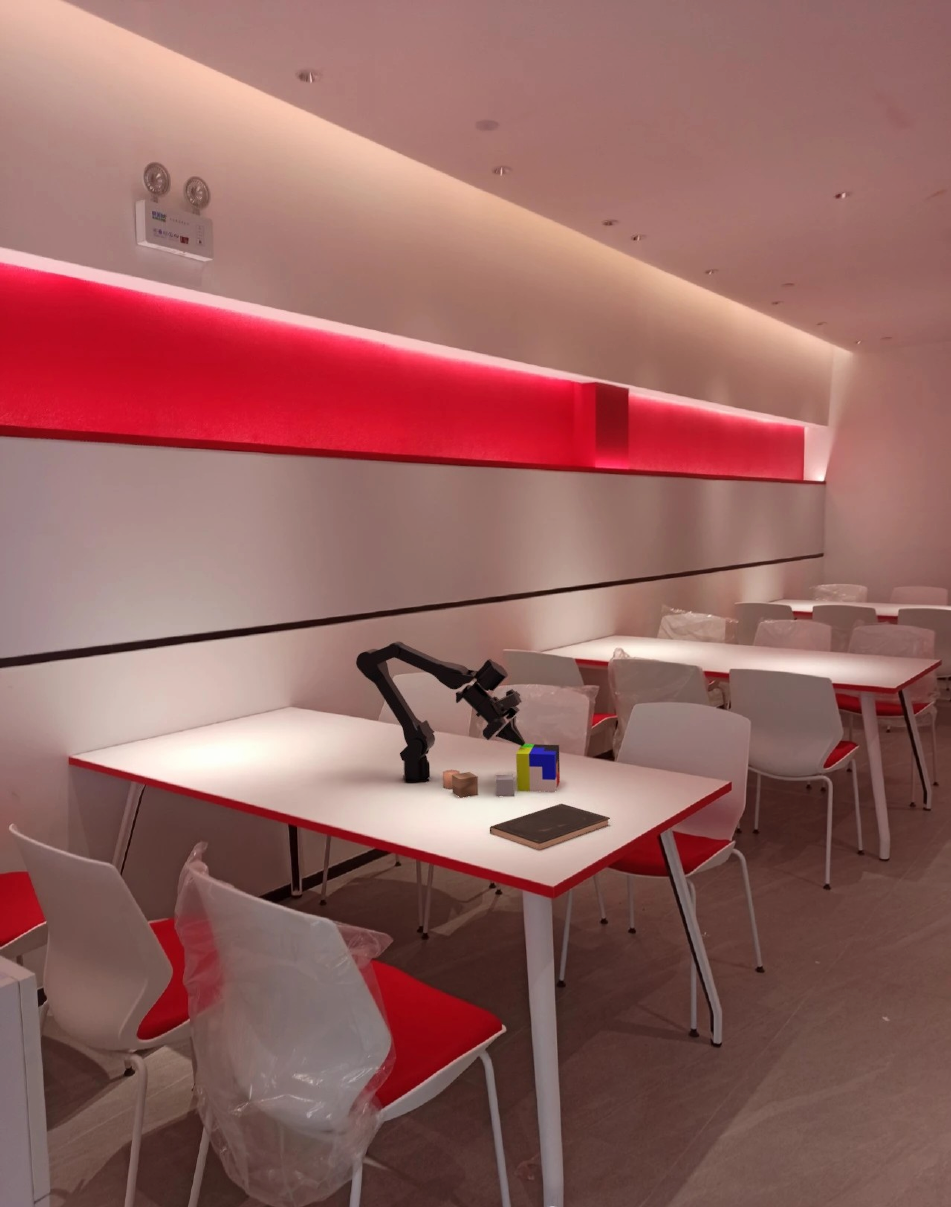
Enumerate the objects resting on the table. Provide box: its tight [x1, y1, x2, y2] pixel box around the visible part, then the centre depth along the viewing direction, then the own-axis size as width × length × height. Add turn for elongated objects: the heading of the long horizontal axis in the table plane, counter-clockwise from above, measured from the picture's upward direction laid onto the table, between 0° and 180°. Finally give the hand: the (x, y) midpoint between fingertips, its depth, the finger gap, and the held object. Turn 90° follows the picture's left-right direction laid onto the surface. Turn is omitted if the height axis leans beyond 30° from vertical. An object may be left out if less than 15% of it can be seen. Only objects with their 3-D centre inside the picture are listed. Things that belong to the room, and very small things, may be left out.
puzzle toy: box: [515, 743, 561, 793], centre depth 249 cm, size 10×10×10 cm
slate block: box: [495, 774, 515, 797], centre depth 244 cm, size 4×4×4 cm
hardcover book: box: [489, 803, 611, 850], centre depth 216 cm, size 16×23×2 cm
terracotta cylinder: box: [442, 769, 460, 790], centre depth 251 cm, size 4×4×4 cm
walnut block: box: [451, 771, 479, 799], centre depth 244 cm, size 5×5×5 cm
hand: (524, 744), depth 250 cm, fingers closed
